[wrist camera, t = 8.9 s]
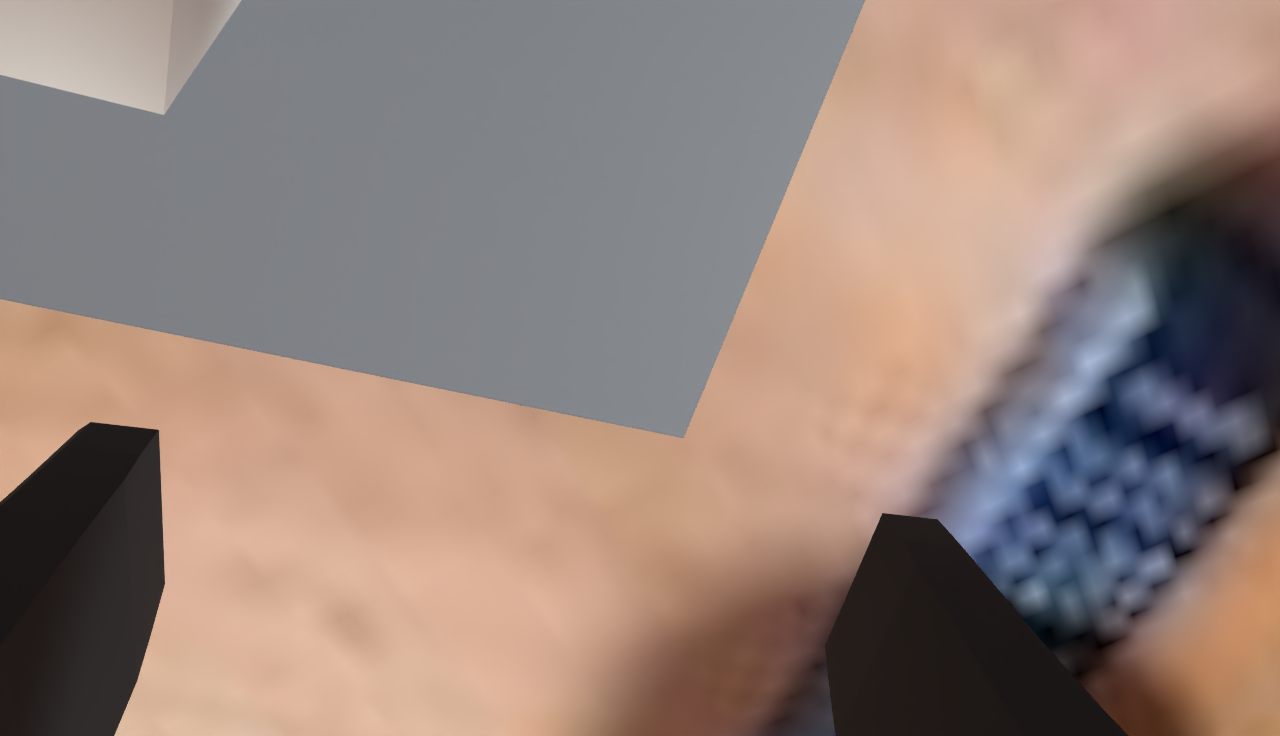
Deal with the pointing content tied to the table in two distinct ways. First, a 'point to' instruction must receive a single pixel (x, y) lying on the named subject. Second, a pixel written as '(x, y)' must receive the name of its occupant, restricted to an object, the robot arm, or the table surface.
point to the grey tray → (437, 190)
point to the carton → (110, 45)
